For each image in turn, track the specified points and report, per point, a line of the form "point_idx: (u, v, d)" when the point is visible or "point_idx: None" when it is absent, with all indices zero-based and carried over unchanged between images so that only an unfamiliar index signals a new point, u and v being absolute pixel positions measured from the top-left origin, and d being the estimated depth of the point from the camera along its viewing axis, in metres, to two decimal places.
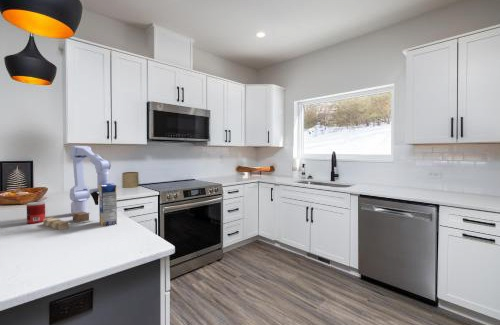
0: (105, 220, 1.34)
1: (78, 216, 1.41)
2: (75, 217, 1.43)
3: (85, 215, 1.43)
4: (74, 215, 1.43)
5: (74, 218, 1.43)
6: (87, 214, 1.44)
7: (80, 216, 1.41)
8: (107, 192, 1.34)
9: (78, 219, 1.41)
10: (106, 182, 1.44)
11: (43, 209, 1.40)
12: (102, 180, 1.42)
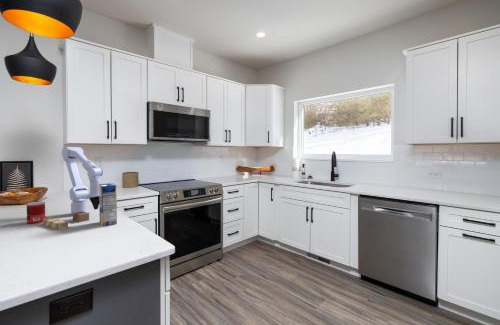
0: (105, 220, 1.34)
1: (78, 216, 1.41)
2: (75, 217, 1.42)
3: (85, 215, 1.43)
4: (74, 215, 1.43)
5: (74, 218, 1.43)
6: (87, 214, 1.44)
7: (80, 216, 1.41)
8: (107, 192, 1.34)
9: (78, 219, 1.41)
10: (98, 188, 1.50)
11: (43, 209, 1.40)
12: (95, 187, 1.49)
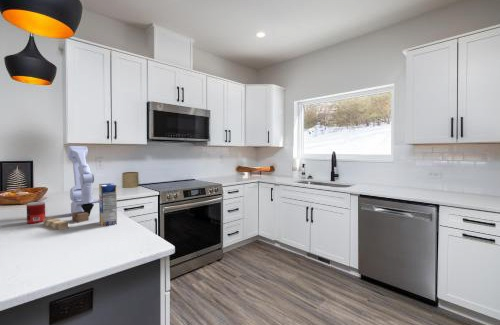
0: (105, 220, 1.34)
1: (78, 216, 1.41)
2: (75, 217, 1.42)
3: (85, 215, 1.43)
4: (74, 215, 1.43)
5: (74, 218, 1.43)
6: (87, 214, 1.44)
7: (80, 216, 1.40)
8: (107, 192, 1.34)
9: (78, 219, 1.41)
10: (90, 195, 1.46)
11: (43, 209, 1.40)
12: (85, 193, 1.44)
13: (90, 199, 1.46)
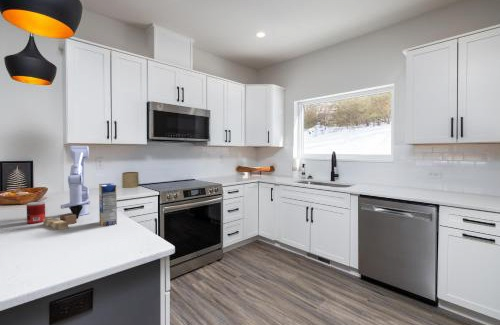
0: (105, 220, 1.34)
1: (64, 218, 1.35)
2: (62, 219, 1.37)
3: (72, 217, 1.37)
4: (61, 217, 1.38)
5: None
6: (74, 216, 1.38)
7: (66, 218, 1.35)
8: (107, 192, 1.34)
9: (65, 221, 1.35)
10: (79, 197, 1.41)
11: (43, 209, 1.40)
12: (71, 195, 1.39)
13: (79, 201, 1.41)
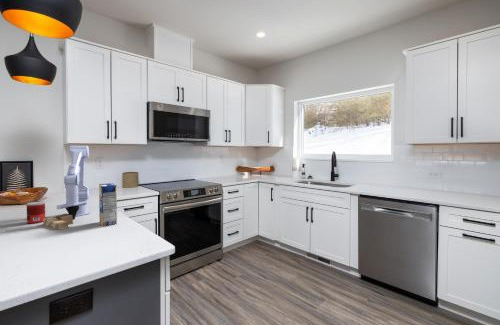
0: (105, 220, 1.34)
1: (60, 219, 1.34)
2: None
3: (68, 218, 1.36)
4: (57, 218, 1.36)
5: None
6: (70, 217, 1.37)
7: (62, 219, 1.33)
8: (107, 192, 1.34)
9: None
10: (75, 197, 1.39)
11: (43, 209, 1.40)
12: (67, 195, 1.37)
13: (75, 201, 1.39)
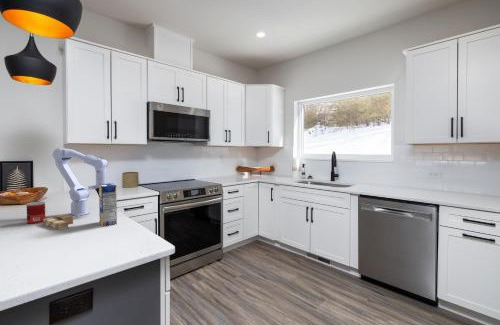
0: (105, 220, 1.34)
1: (61, 219, 1.34)
2: None
3: (69, 218, 1.36)
4: (57, 218, 1.36)
5: None
6: (71, 217, 1.37)
7: (63, 219, 1.34)
8: (107, 192, 1.34)
9: None
10: (104, 179, 1.55)
11: (43, 209, 1.40)
12: (102, 177, 1.55)
13: (104, 183, 1.55)
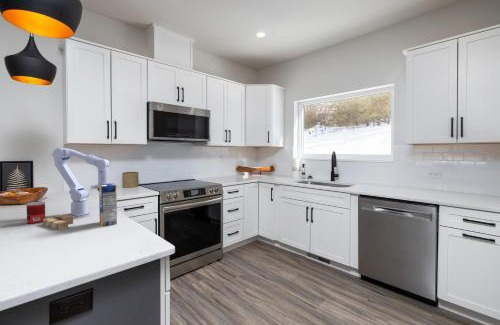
0: (105, 220, 1.34)
1: (61, 219, 1.34)
2: None
3: (69, 218, 1.36)
4: (57, 218, 1.36)
5: None
6: (71, 217, 1.37)
7: (63, 219, 1.34)
8: (107, 192, 1.34)
9: None
10: (106, 179, 1.57)
11: (43, 209, 1.40)
12: (105, 177, 1.56)
13: (106, 183, 1.57)
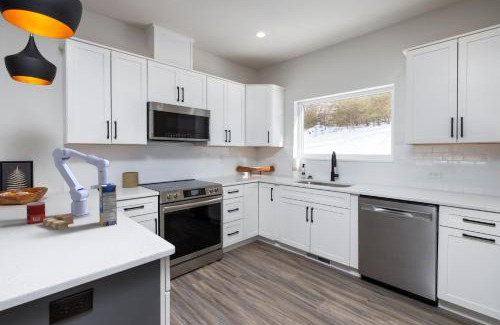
0: (105, 220, 1.34)
1: (61, 219, 1.34)
2: None
3: (69, 218, 1.36)
4: (57, 218, 1.36)
5: None
6: (71, 217, 1.37)
7: (64, 219, 1.34)
8: (107, 192, 1.34)
9: None
10: (106, 179, 1.57)
11: (43, 209, 1.40)
12: (105, 177, 1.56)
13: (106, 183, 1.57)
